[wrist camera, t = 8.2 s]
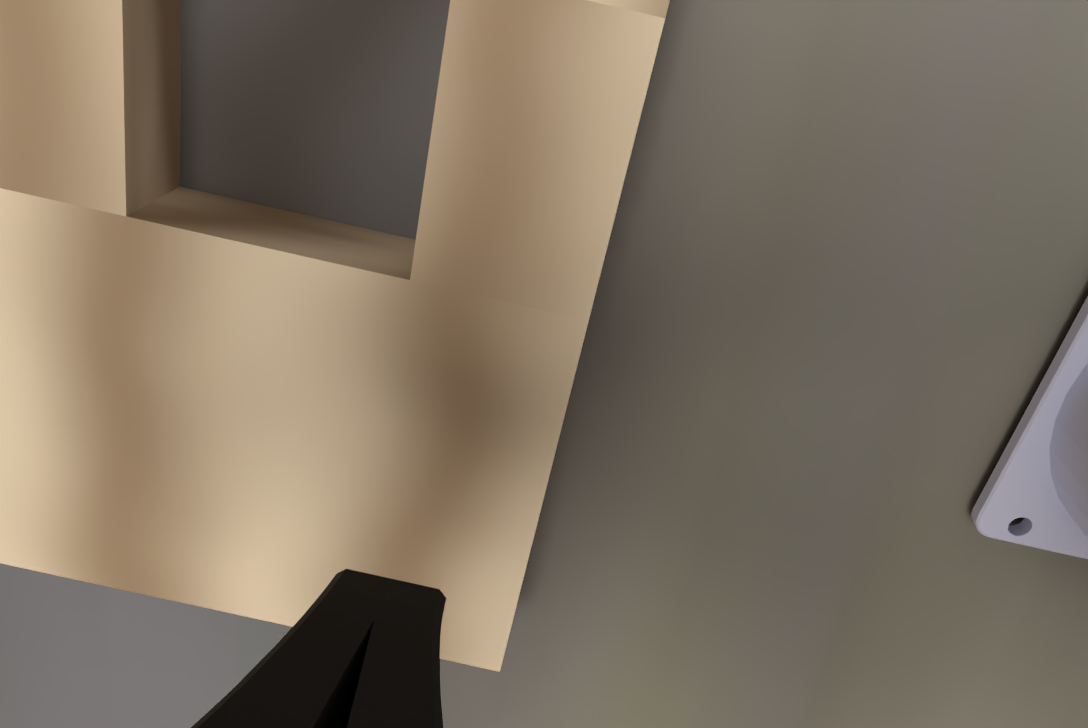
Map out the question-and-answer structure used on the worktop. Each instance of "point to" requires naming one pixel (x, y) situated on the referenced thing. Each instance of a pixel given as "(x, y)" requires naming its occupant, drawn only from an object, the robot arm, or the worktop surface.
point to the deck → (302, 288)
